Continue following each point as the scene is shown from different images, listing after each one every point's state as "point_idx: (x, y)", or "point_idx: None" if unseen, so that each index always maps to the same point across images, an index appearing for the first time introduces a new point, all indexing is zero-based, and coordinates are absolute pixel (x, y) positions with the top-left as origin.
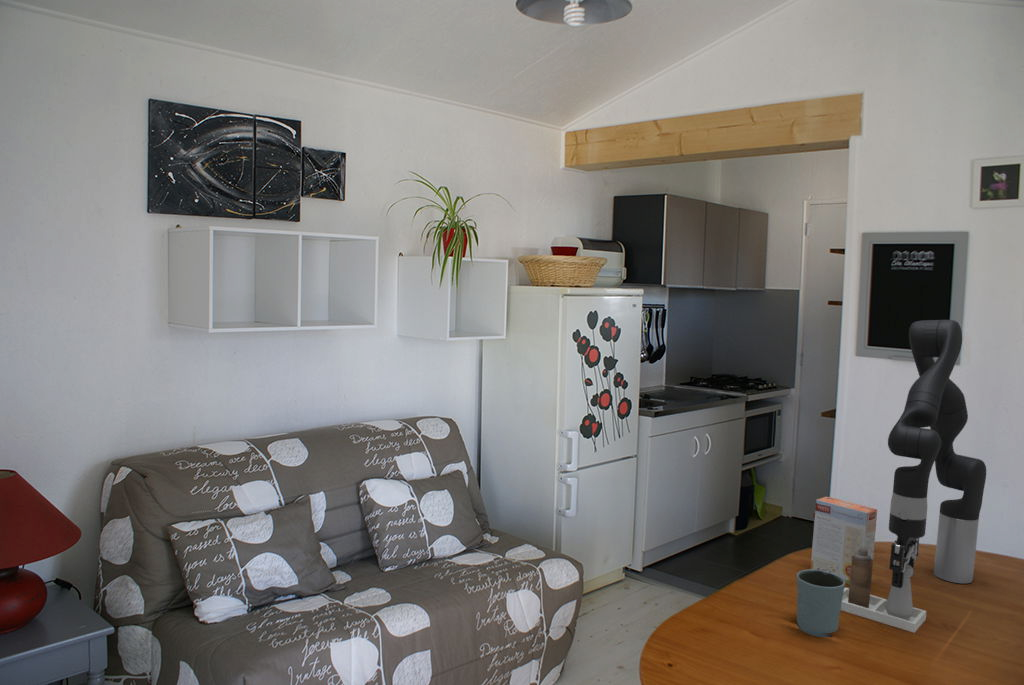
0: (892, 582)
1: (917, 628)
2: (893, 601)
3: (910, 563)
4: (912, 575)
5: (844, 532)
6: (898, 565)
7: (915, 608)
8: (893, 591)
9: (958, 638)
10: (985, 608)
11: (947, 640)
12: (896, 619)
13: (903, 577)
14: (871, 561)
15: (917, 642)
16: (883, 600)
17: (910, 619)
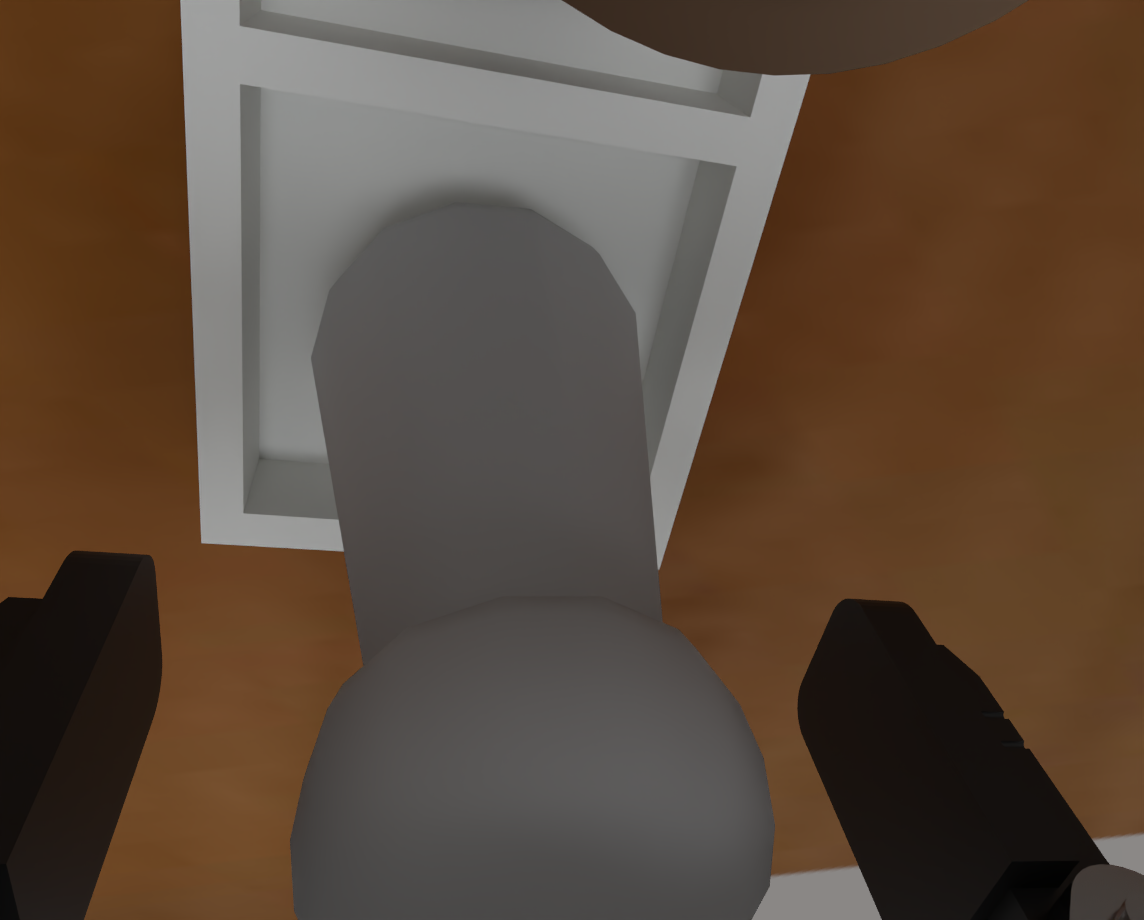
0: (50, 598)
1: None
2: (339, 374)
3: (923, 917)
4: (808, 740)
5: None
6: (409, 909)
7: (665, 485)
8: (378, 429)
9: None
10: (1140, 733)
11: None
12: (199, 363)
13: (89, 882)
14: (651, 24)
15: (125, 499)
16: (715, 145)
17: None
